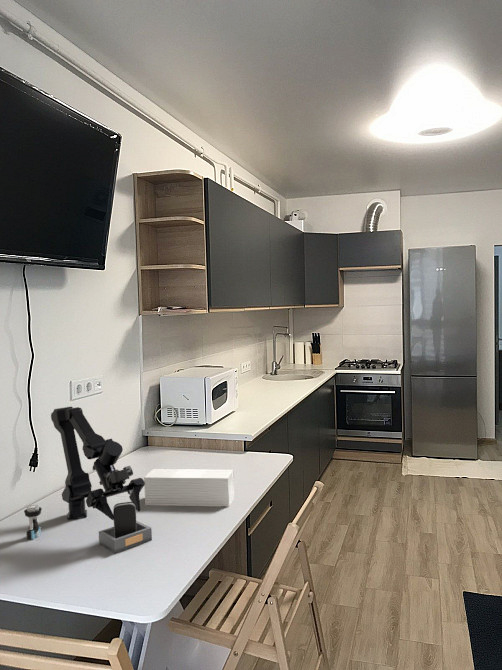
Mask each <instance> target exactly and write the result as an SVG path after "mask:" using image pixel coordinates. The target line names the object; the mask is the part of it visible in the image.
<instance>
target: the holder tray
mask: <svg viewBox="0 0 502 670" xmlns="http://www.w3.org/2000/svg"><path fill="white" fill-rule="evenodd" d="M152 530H153V529H152V527H150V526H148V525H147V524H144V523H143V522H141V521H138V520H136V532H134V533H131V534H128V535H125V536H122V537H119V538H115V530H114V526H112V527H109V528H108V527H107V528H105V529H102V530H99V531H98V544H99V545H101V546H102V547H104V548H105V549H107V550H109V551H110V552H112V553H114V554H117V553H120V552H123V551H126V550H129V549H133V548H135V547H137V546H141V545H143V544H146V543H148V542H151V541H153V537H152V536H153V535H152V534H153V533H152V532H153V531H152Z"/></svg>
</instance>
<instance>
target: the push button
mask: <svg viewBox="0 0 502 670" xmlns="http://www.w3.org/2000/svg"><path fill="white" fill-rule="evenodd" d="M42 509H43V508H42V507H40V506H39V505H38V504H31V505H29V506H27V507H26V509H24V510H23V512H24V516H25V517H27V518H28V520H29V521H28V522H29V526H28V530H26V539H27V540H35V539H36V538H37V537H40V535H41V534H42V533H41V532H42V529H41V528H42V527H41V526H40V525H39V516H40V515H41V513H42Z"/></svg>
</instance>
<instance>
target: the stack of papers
mask: <svg viewBox="0 0 502 670" xmlns="http://www.w3.org/2000/svg"><path fill="white" fill-rule="evenodd" d="M143 480H144V482H145V485H144V486H143V489H144V503H145V504H144V506H170V507H171V506H173V507H174V506H175V507H177V506H179V507H181V506H182V507H221V506H222V507H223V506H226V507H227V508H230V506H231V504H232V502H233V500H234V498H235V480H234V469H204V468H203V469H192V468H191V469H190V468H189V469H186V468H184V469H183V468H179V469H178V468H177V469H176V468H169V469H167V468H153V469H151V471H149V472H148V473H147V474H146V475H145V476H144V477H143ZM223 508H224V507H223Z"/></svg>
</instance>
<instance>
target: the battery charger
mask: <svg viewBox="0 0 502 670" xmlns="http://www.w3.org/2000/svg"><path fill="white" fill-rule="evenodd" d="M112 513H113V515H114V520H113V527H114V530H115V538H119V537H122V536H125V535H128V534H131V533H134V532H136V521H137V510H136V508H135V505H134V503H132V501H124V502H118V503H116V504H114V506H113V509H112Z"/></svg>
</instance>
